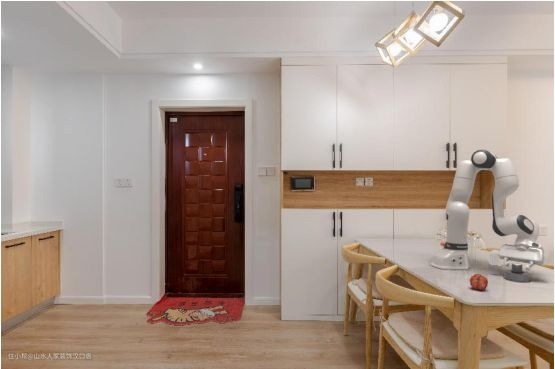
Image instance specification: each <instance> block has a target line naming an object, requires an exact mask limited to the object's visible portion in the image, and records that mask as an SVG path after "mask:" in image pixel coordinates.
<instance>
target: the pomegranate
mask: <svg viewBox="0 0 555 369" xmlns="http://www.w3.org/2000/svg"><path fill="white" fill-rule="evenodd" d="M488 283H489V282H488V278H487V277H485V276H484V275H482V274H481V273H475V274H474V275H471V276H470V278H469V284H470V286H471V288H473V289H474V290H479V291H484V290H486V289H487V287H488Z"/></svg>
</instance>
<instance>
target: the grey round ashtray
mask: <svg viewBox="0 0 555 369" xmlns="http://www.w3.org/2000/svg"><path fill="white" fill-rule="evenodd" d="M503 271H504V273H503V274H504V275H503V278H504V279H505V280H506V281H510V282H514V283H523V284H524V283H530V282H532V280H531V278H532V277H531V275H532V274H531V272H529V271H526V270H522V273H514V272H512V268H510V269H508V268H507V269H505V270H503Z"/></svg>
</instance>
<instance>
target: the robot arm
mask: <svg viewBox="0 0 555 369" xmlns="http://www.w3.org/2000/svg"><path fill="white" fill-rule="evenodd" d="M489 171H491V172H492V175H493V177H494V179H493V180H494V190H493V191H492V192H491V210H492V222H491V223H492V224H491V225H492V226H491V229H492V230H493V232H494V233H495V235H498V236H499V237H506V236H510V235H516V236H517V237H516V238H515V240H514V244H506V243H505V244H502V245H501V247H500V249H499V251H498V253H497V256H498V258H499V259H500V260H503V261H504V262H505V263H504V266H505V267H508V268H509V267H510V262H509V261H512V262H515V263H524V264H526V265H525V271H526V270H527V271H530V270H531V268H533V267H534V266H535V265H537V266H543V265H544V264H545V255H544V254H545V250H544V248H543V245H542V244H540V243H537V242H536V241H537V240H538V237H539V234H540V226H539V223H537V222H536V221H535V220H532V219H529V218H528V217H527V216H525V215H523V214H517V215H511V216H507V217H505V215H504V213H505V211H504V209H505V208H504V202H505V201H506V199H507V198H508V197H510V196H511V195H513V194H514V193H515V192H516V191H517V190H518V189H519V186H520V180H519V179H520V178H519V174H518V173H517V169H516V167H515V164H514V163H513V161H512V160H511V159H510V158H505V157H504V158H498V157H497V155H496V154H494V153H493V152H492V151H489V150H487V149H478V150H477V149H476V151H474V152H473V153H472V155H471V157H470V160H469V159H465V160H461V161H460V162H459V164H458V166H457V168H456V171H455V174H454V178H453V182H452V186H451V190H450V193H449V197H448V199H447V202H446V206H445V213H446V215H447V226H446V241H445V242H442V241H441V242H440V243H439V244H440V246H442V247H443V248H442V249H441V250H439V251H438V252H436V253H435V254H434V256H433V259H432V261H431V262H429V263H428V264H429V266H431V267H433V268H436V269H440V270H463V271H464V270H465V271H466V270H469V269H470V268H471V267H470V262H469V258H468V257H469V256H468V250H469V243H468V226H469V220H470V213H471V211H470V206H469V205H468V203H469V201H470V198H471V197H472V193H473V190H474V186H475V183H476V182H475V181H476V178H477V174H478V173H479V172H481V173H482V172H489Z"/></svg>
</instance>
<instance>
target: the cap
mask: <svg viewBox="0 0 555 369" xmlns="http://www.w3.org/2000/svg"><path fill="white" fill-rule="evenodd" d="M511 269H512V272H514V273H522V271H523V264H521V263H519V262H513V263H511Z"/></svg>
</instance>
